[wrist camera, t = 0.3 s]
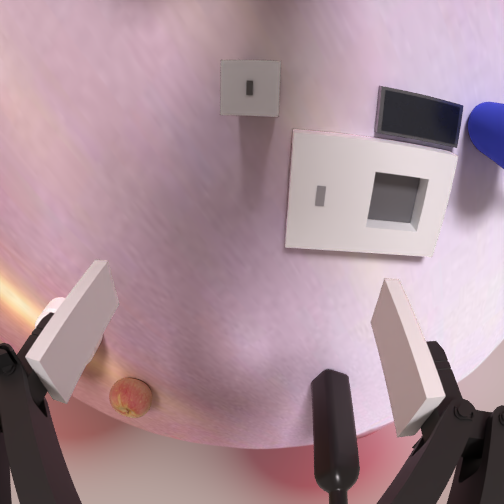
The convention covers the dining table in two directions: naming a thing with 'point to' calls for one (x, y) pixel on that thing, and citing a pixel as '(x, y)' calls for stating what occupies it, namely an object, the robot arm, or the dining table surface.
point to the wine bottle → (334, 435)
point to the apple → (130, 397)
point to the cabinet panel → (366, 194)
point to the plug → (250, 87)
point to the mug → (488, 130)
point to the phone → (418, 117)
